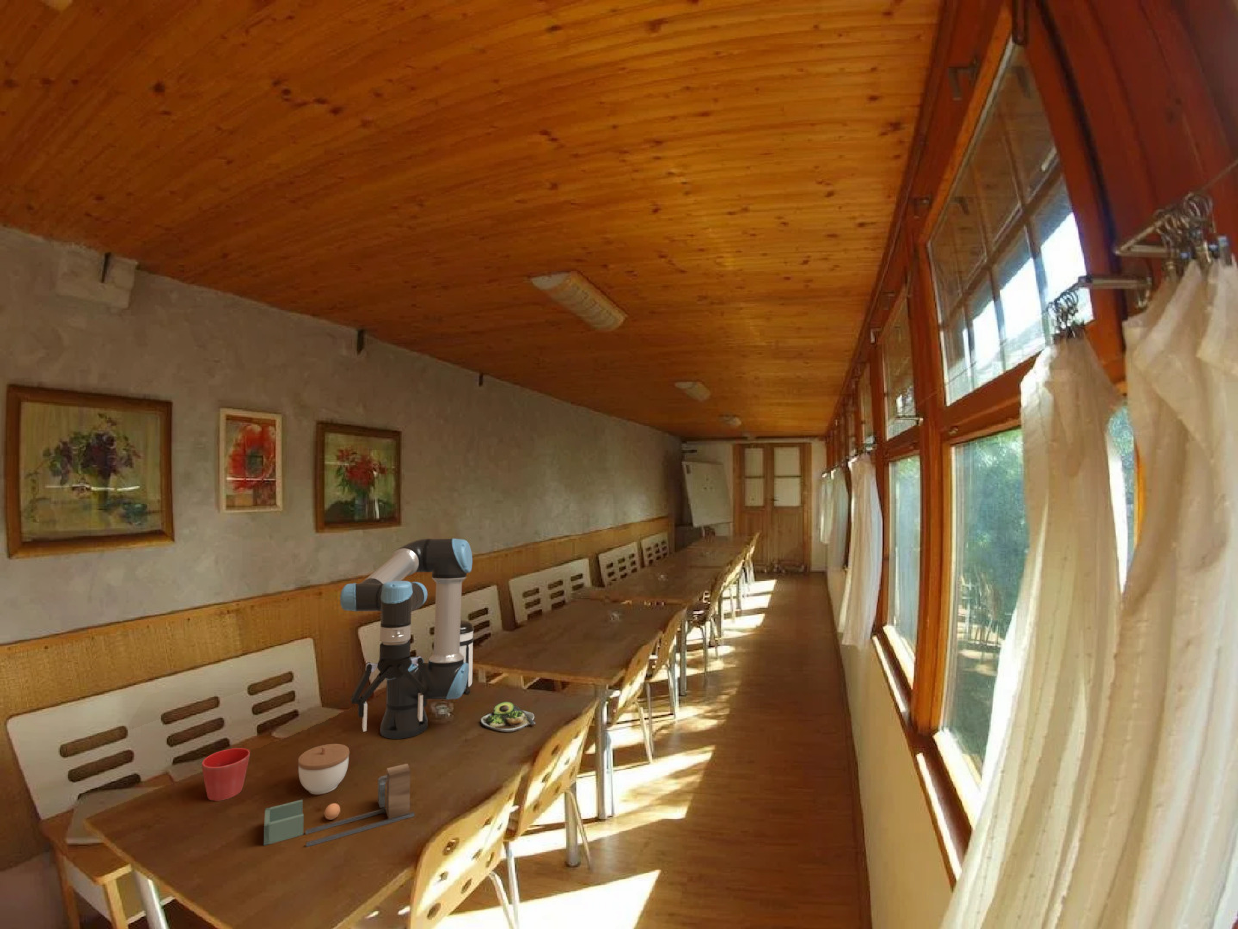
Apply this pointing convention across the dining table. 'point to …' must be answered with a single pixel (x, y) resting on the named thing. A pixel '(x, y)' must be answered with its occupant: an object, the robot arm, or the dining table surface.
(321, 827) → the guide rails
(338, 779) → the lidded bowl
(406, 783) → the brown boxy piece
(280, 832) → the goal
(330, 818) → the brown egg
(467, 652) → the coffee press
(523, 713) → the avocado toast plate
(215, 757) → the flower pot
